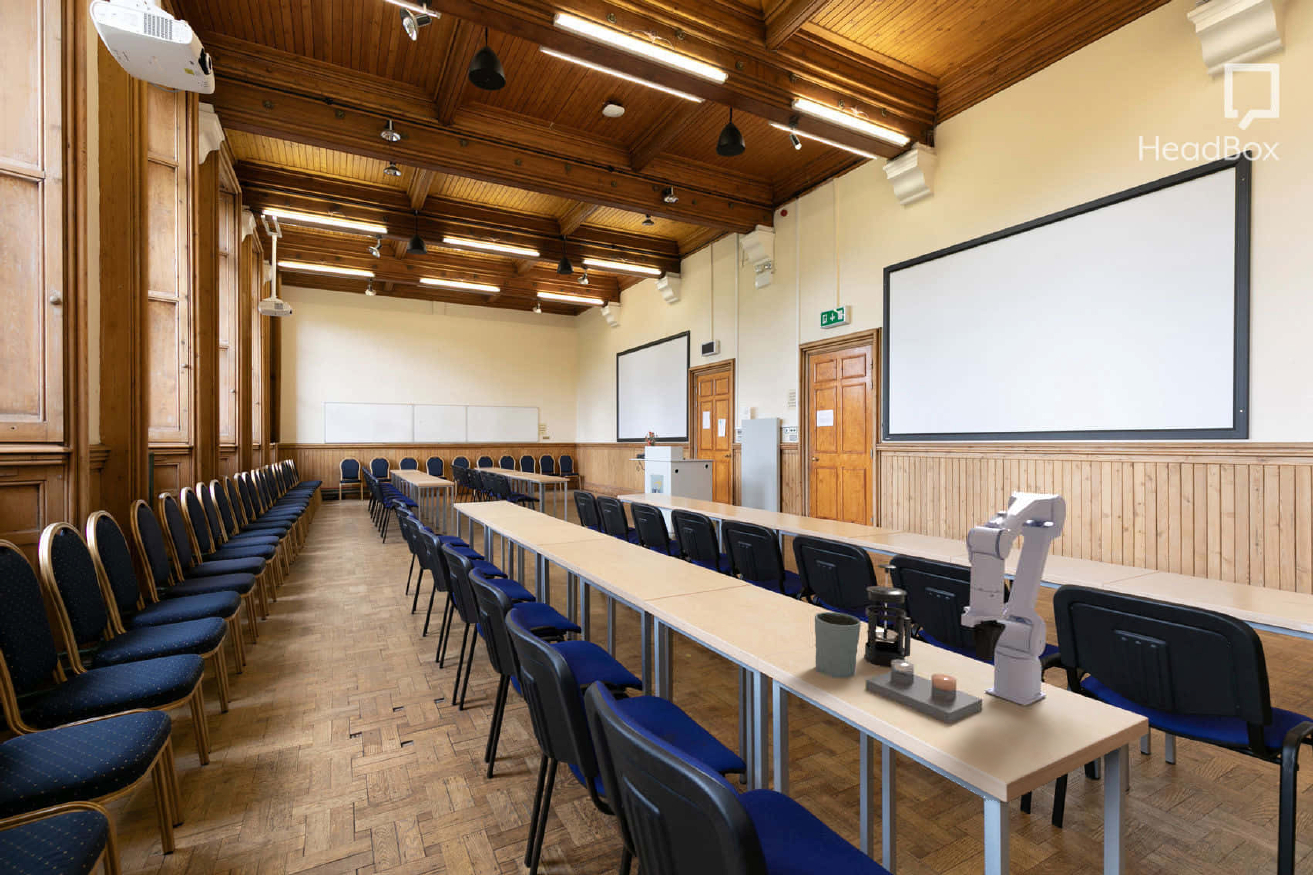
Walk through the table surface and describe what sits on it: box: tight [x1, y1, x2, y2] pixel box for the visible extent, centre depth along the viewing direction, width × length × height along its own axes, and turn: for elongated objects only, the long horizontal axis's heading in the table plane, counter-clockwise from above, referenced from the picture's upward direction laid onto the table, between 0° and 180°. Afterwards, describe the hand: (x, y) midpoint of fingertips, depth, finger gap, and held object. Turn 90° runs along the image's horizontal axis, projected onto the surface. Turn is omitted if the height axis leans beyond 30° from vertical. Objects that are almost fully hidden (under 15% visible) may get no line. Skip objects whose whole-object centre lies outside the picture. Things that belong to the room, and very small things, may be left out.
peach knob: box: [931, 673, 957, 691], centre depth 117 cm, size 4×4×6 cm
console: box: [865, 670, 983, 725], centre depth 120 cm, size 12×18×4 cm, turn 35°
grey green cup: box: [814, 611, 862, 679], centre depth 134 cm, size 10×10×12 cm
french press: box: [863, 563, 912, 668], centre depth 142 cm, size 12×9×23 cm
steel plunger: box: [890, 659, 915, 675], centre depth 124 cm, size 4×4×6 cm
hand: (984, 659), depth 115 cm, fingers closed
